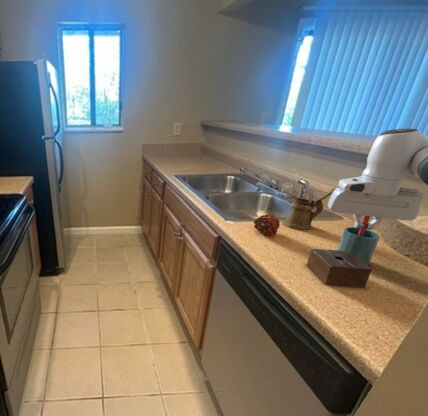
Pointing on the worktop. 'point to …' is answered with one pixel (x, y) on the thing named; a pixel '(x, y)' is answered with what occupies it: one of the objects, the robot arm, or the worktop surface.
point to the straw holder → (338, 268)
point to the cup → (359, 243)
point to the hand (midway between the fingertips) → (363, 228)
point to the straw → (364, 226)
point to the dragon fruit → (267, 224)
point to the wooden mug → (304, 212)
